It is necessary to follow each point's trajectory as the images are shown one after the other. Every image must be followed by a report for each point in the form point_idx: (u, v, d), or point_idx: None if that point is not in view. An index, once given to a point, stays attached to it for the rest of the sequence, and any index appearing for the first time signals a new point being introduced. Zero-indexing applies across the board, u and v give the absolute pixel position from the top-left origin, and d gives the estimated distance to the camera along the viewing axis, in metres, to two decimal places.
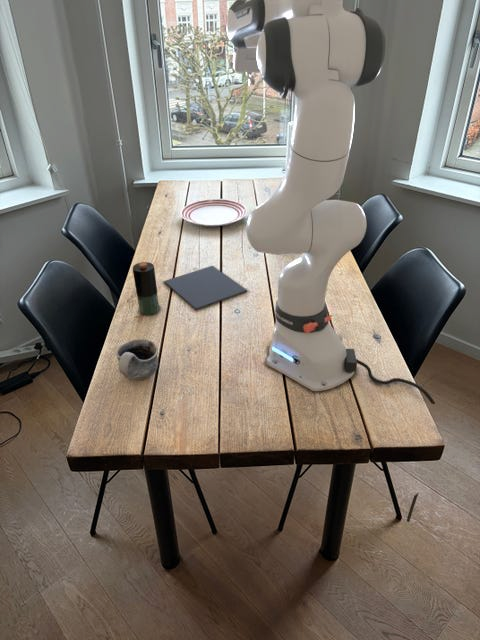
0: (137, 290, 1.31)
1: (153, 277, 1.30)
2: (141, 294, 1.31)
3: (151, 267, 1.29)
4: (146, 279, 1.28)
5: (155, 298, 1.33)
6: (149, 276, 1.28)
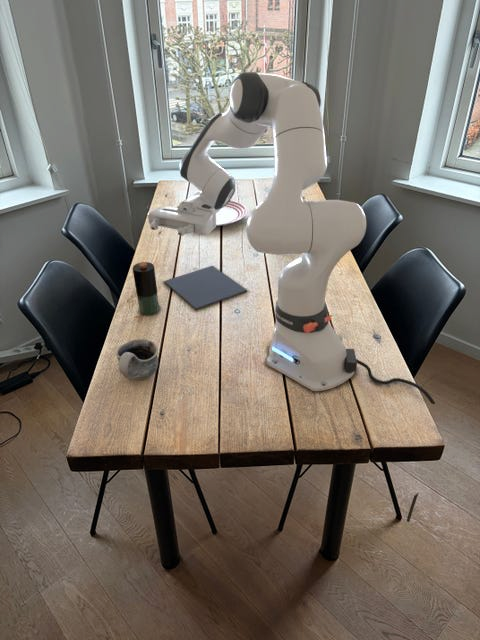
0: (137, 290, 1.31)
1: (153, 277, 1.30)
2: (141, 294, 1.31)
3: (151, 267, 1.29)
4: (146, 279, 1.28)
5: (155, 298, 1.33)
6: (149, 276, 1.28)
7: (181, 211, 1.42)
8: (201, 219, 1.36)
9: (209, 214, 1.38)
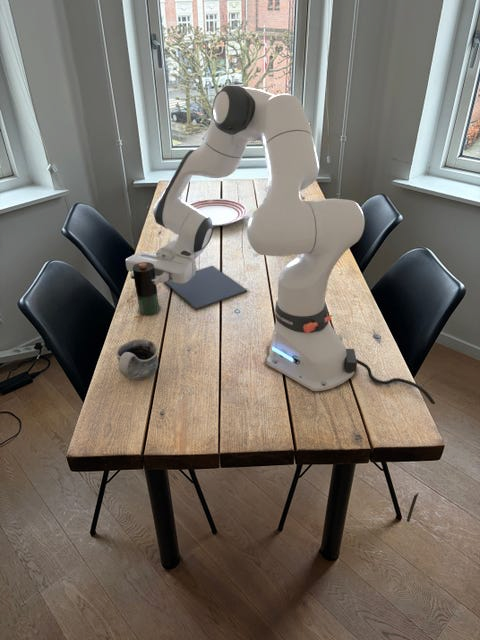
0: (137, 290, 1.31)
1: None
2: (141, 294, 1.31)
3: (151, 267, 1.29)
4: (146, 279, 1.28)
5: (155, 298, 1.33)
6: (149, 276, 1.28)
7: (160, 258, 1.38)
8: (180, 268, 1.32)
9: (188, 262, 1.34)
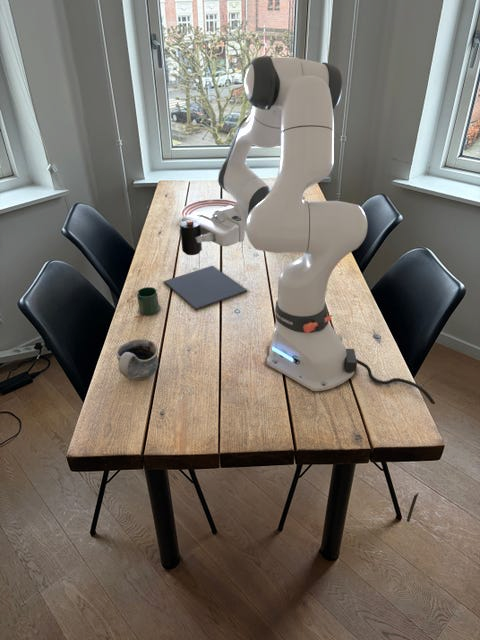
0: (182, 245, 1.37)
1: None
2: (184, 250, 1.37)
3: (196, 225, 1.33)
4: (189, 236, 1.33)
5: (155, 298, 1.33)
6: (192, 233, 1.33)
7: (213, 219, 1.41)
8: (224, 231, 1.34)
9: (234, 226, 1.35)
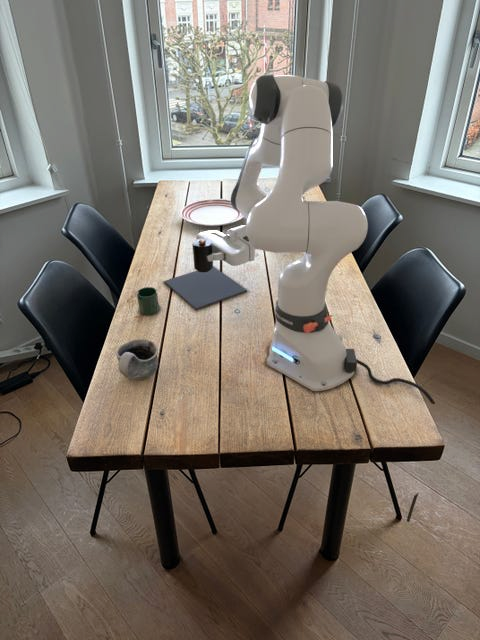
0: (194, 263, 1.43)
1: None
2: (196, 267, 1.42)
3: (208, 244, 1.39)
4: (201, 254, 1.39)
5: (155, 298, 1.33)
6: (204, 251, 1.38)
7: (225, 238, 1.46)
8: (234, 251, 1.39)
9: (245, 247, 1.39)
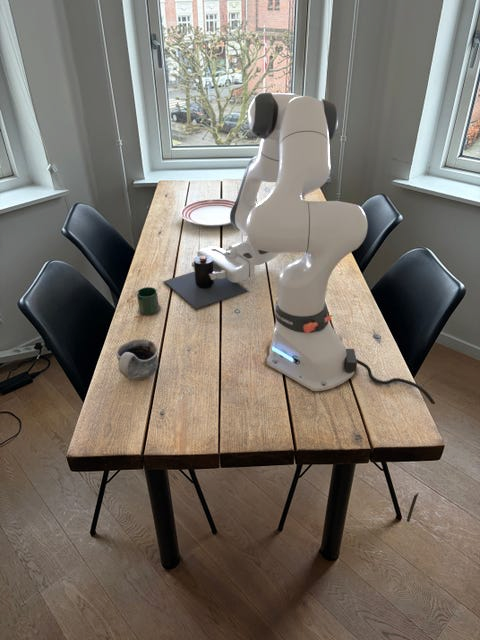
0: (195, 279, 1.46)
1: (209, 271, 1.42)
2: (197, 283, 1.45)
3: (209, 261, 1.42)
4: (202, 271, 1.42)
5: (155, 298, 1.33)
6: (205, 268, 1.41)
7: (226, 255, 1.49)
8: (235, 268, 1.41)
9: (245, 264, 1.42)
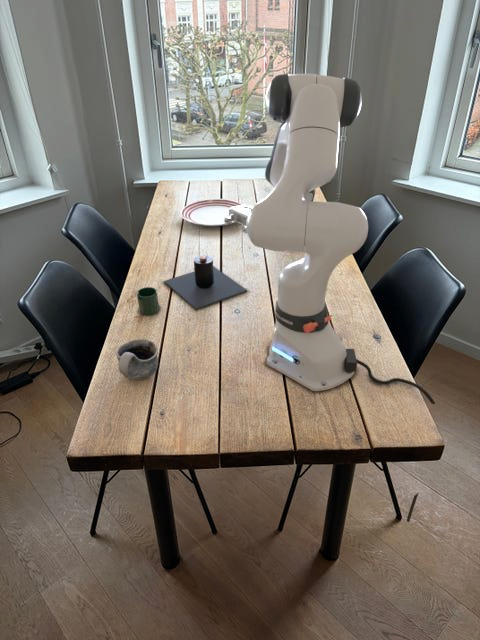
0: (195, 279, 1.46)
1: (209, 271, 1.42)
2: (197, 283, 1.45)
3: (209, 261, 1.42)
4: (202, 271, 1.42)
5: (155, 298, 1.33)
6: (205, 268, 1.41)
7: None
8: None
9: None
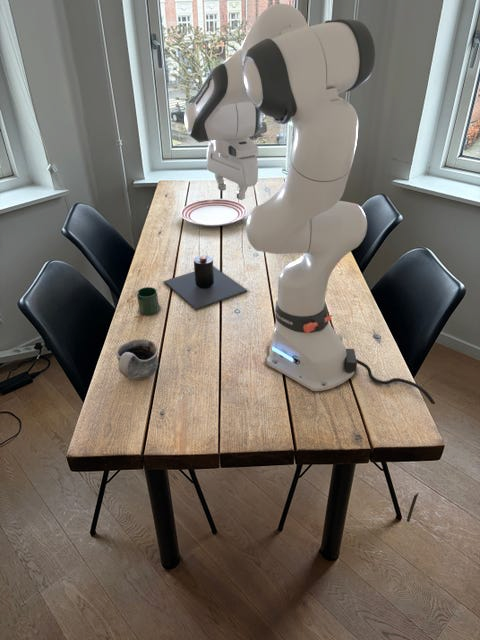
0: (195, 279, 1.46)
1: (209, 271, 1.42)
2: (197, 283, 1.45)
3: (209, 261, 1.42)
4: (202, 271, 1.42)
5: (155, 298, 1.33)
6: (205, 268, 1.41)
7: None
8: (241, 177, 1.23)
9: (241, 165, 1.20)
